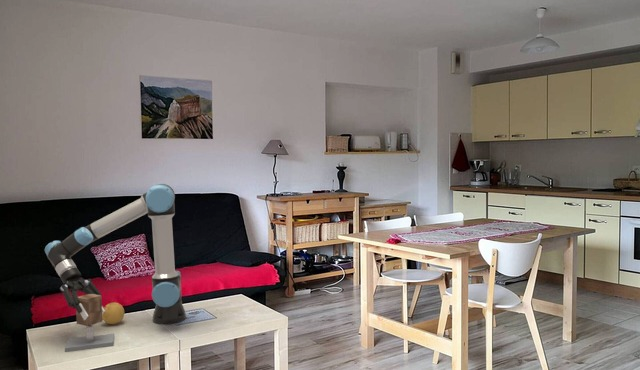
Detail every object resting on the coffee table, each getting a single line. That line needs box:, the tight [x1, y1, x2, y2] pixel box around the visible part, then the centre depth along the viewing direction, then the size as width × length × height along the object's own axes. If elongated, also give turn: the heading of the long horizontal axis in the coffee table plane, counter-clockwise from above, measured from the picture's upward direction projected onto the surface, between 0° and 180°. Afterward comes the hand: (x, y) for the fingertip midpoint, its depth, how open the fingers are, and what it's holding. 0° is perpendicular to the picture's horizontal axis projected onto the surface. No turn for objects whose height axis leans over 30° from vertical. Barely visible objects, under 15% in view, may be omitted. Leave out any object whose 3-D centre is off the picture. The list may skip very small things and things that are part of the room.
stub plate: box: [64, 325, 115, 353], centre depth 222 cm, size 18×12×8 cm, turn 109°
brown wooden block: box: [75, 294, 103, 327], centre depth 221 cm, size 7×7×11 cm
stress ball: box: [102, 302, 125, 325], centre depth 249 cm, size 10×10×10 cm
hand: (94, 315), depth 219 cm, fingers closed on brown wooden block, 7 cm apart
